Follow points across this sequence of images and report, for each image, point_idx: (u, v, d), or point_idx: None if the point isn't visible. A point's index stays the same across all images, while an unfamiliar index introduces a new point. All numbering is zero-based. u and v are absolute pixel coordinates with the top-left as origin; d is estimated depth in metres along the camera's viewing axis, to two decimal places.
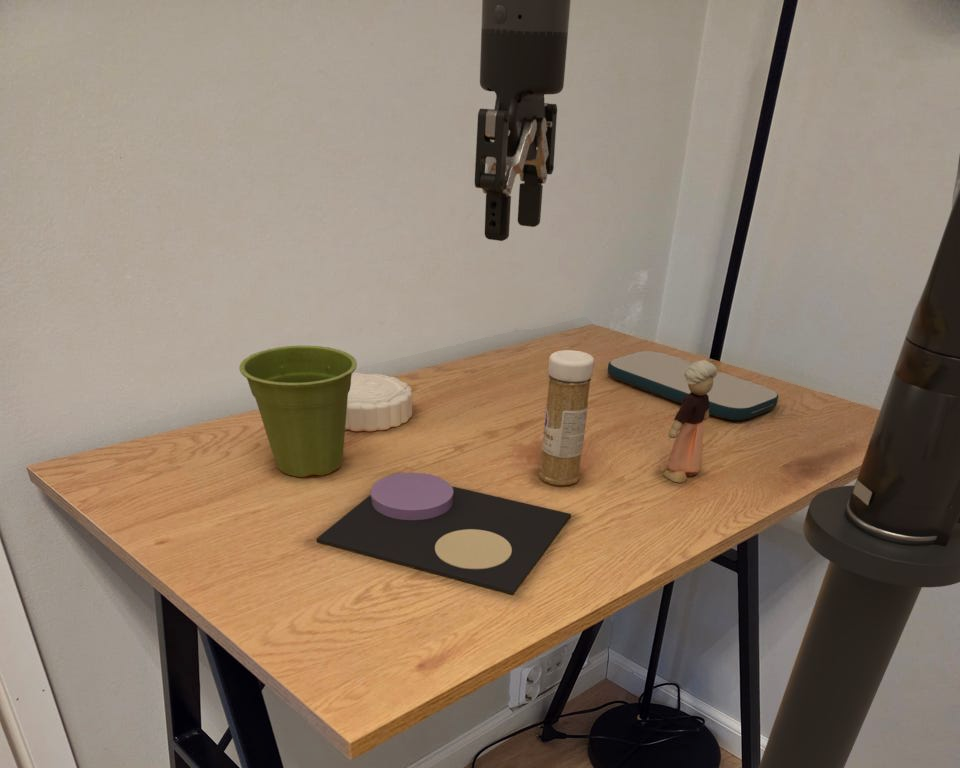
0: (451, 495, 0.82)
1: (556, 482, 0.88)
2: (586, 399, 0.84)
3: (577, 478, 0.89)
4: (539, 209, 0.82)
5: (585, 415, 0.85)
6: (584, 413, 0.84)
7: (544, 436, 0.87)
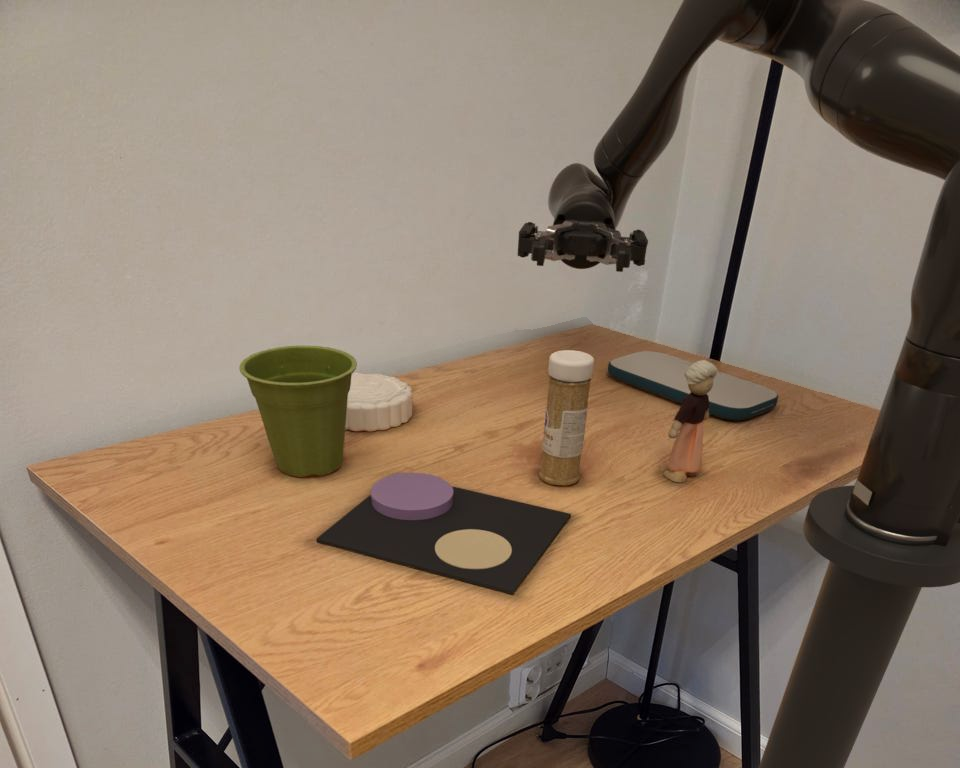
0: (451, 495, 0.82)
1: (556, 482, 0.88)
2: (586, 399, 0.84)
3: (577, 478, 0.89)
4: (621, 247, 0.87)
5: (585, 415, 0.85)
6: (584, 413, 0.84)
7: (544, 436, 0.87)
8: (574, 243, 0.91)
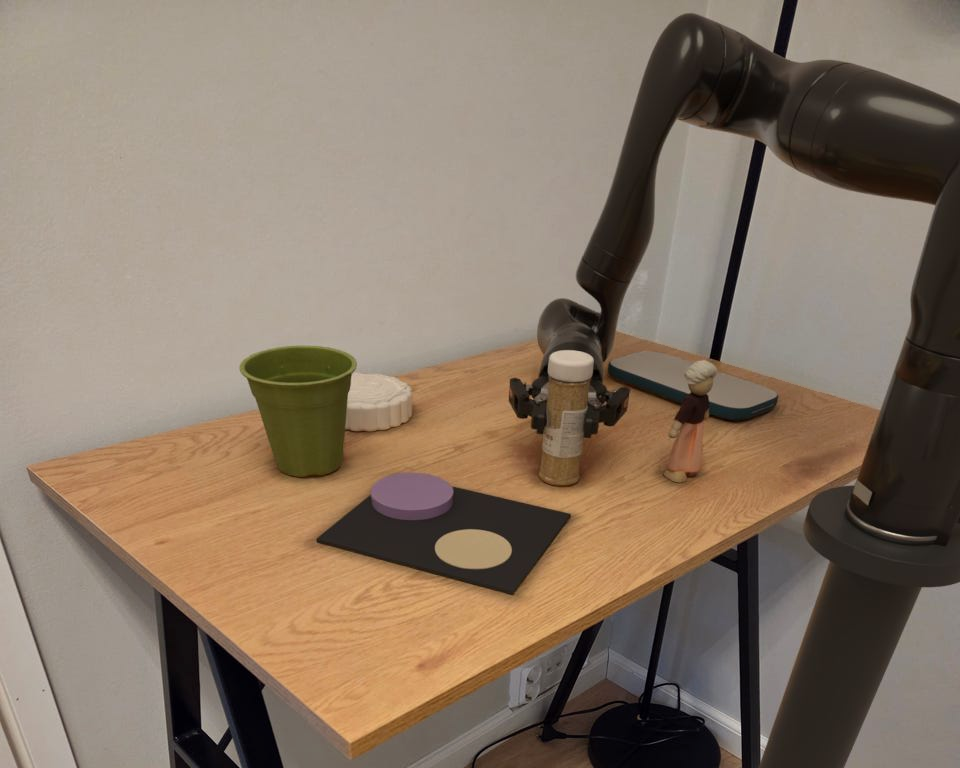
0: (451, 495, 0.82)
1: (556, 482, 0.88)
2: (586, 399, 0.84)
3: (577, 478, 0.89)
4: (589, 413, 0.84)
5: (585, 415, 0.85)
6: (584, 413, 0.84)
7: (544, 436, 0.87)
8: None
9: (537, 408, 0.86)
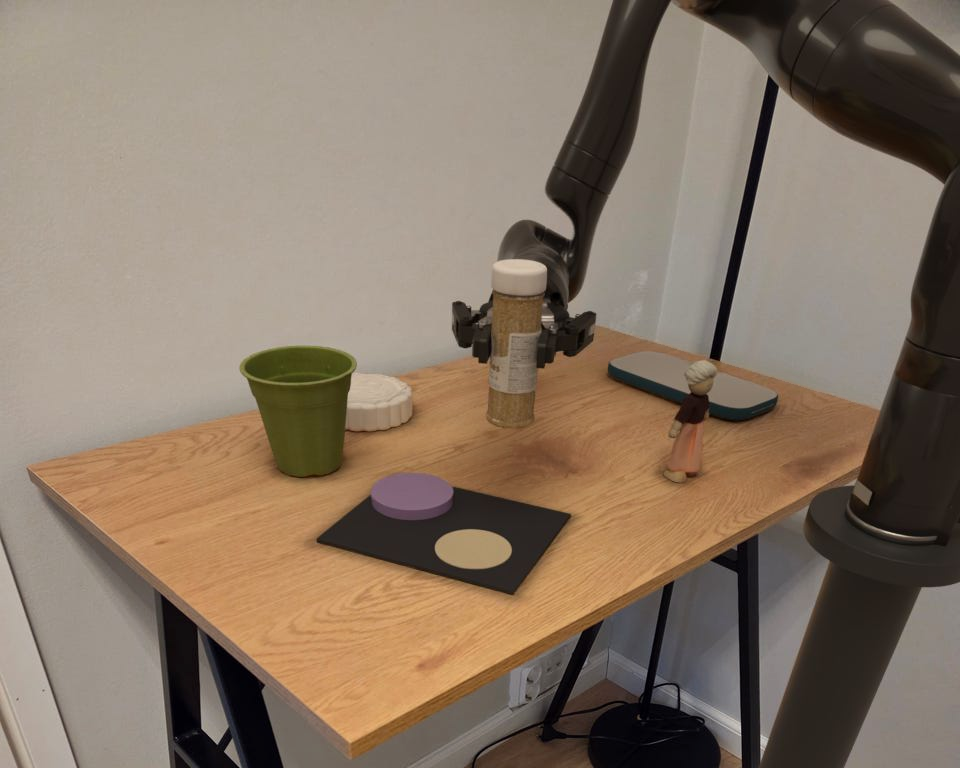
0: (451, 495, 0.82)
1: (505, 424, 0.73)
2: (538, 319, 0.68)
3: (531, 420, 0.74)
4: (542, 337, 0.69)
5: (538, 340, 0.69)
6: (537, 338, 0.69)
7: (490, 367, 0.71)
8: None
9: (480, 333, 0.70)
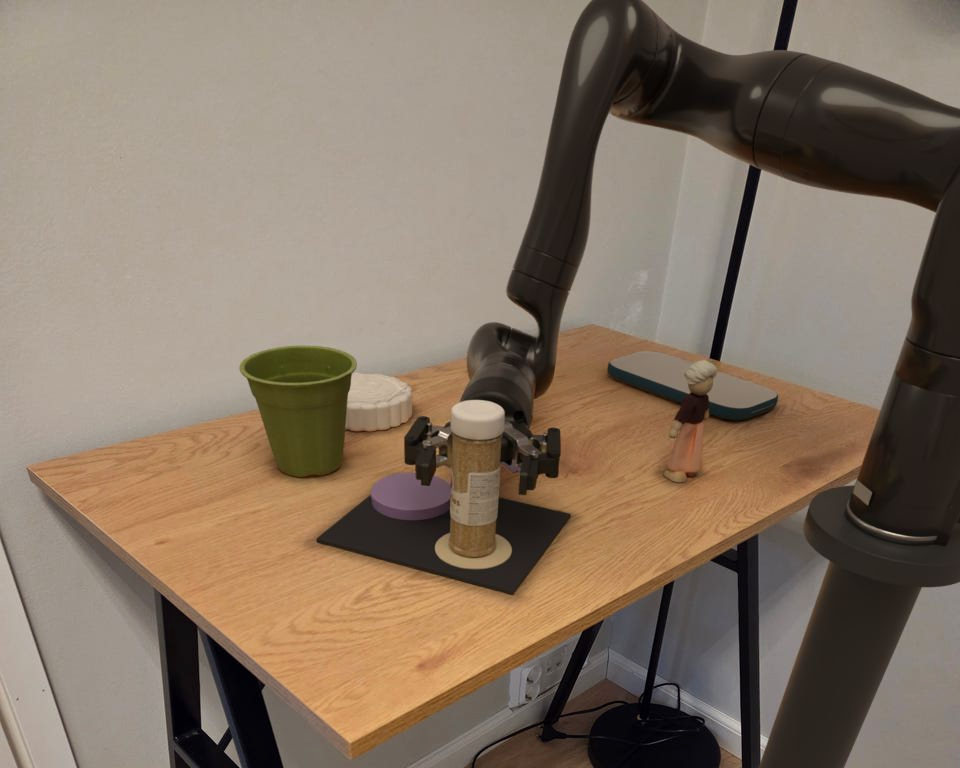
0: None
1: (466, 553, 0.74)
2: (497, 458, 0.70)
3: (492, 548, 0.75)
4: (524, 465, 0.70)
5: (497, 477, 0.71)
6: (496, 475, 0.71)
7: (451, 500, 0.73)
8: None
9: (424, 454, 0.72)
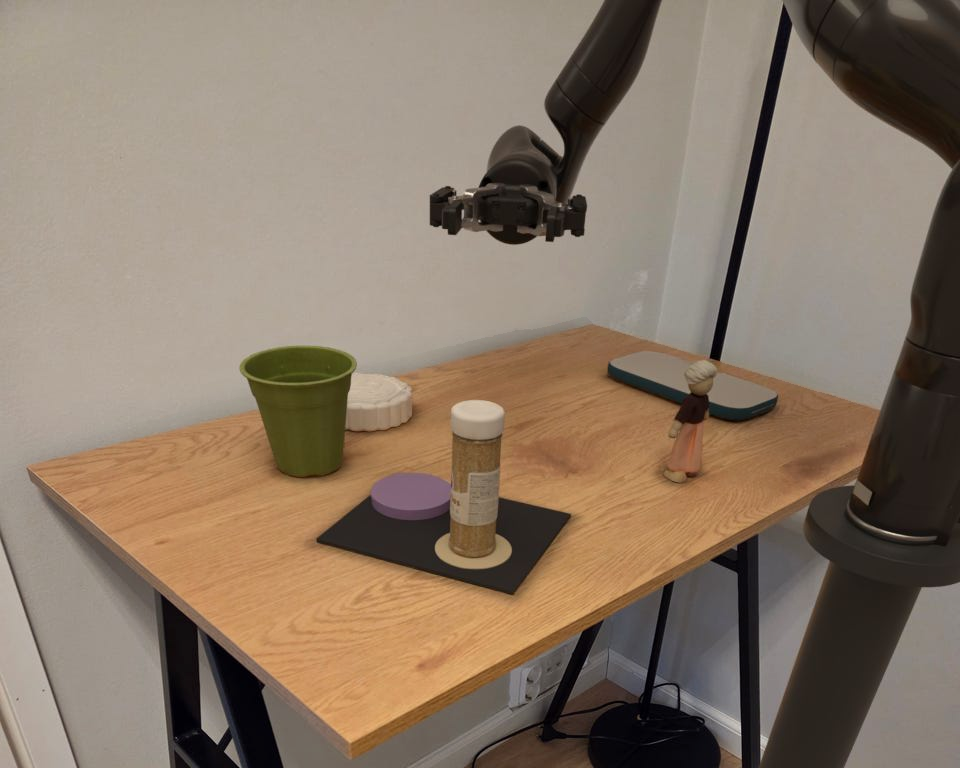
0: None
1: (466, 553, 0.74)
2: (497, 458, 0.70)
3: (492, 548, 0.75)
4: (551, 211, 0.70)
5: (497, 477, 0.71)
6: (496, 475, 0.71)
7: (451, 500, 0.73)
8: (498, 210, 0.75)
9: None
